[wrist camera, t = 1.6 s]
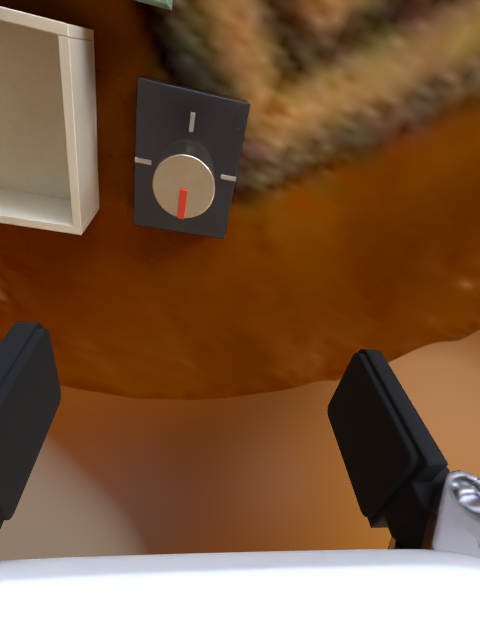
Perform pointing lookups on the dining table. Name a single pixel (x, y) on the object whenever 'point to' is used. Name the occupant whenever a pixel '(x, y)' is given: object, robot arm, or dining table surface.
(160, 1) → the green divided open-frame rack
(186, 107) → the dial faceplate
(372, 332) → the dining table surface
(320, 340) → the dining table surface
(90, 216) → the white storage tray
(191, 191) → the dial knob
